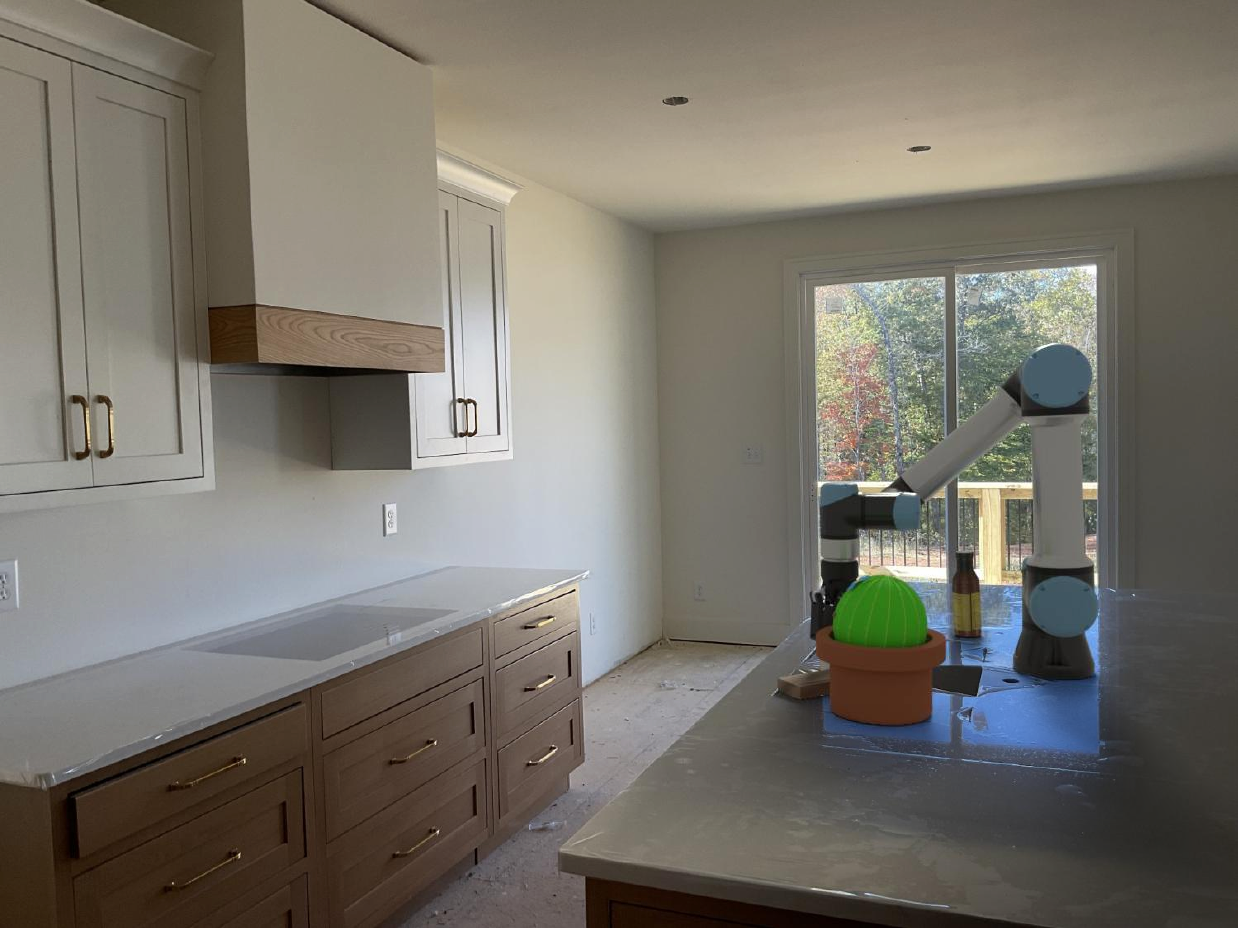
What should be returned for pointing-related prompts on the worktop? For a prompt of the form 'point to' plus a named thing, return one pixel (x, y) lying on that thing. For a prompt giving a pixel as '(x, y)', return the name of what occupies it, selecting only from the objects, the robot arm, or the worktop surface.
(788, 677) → the board
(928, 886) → the worktop surface
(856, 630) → the potted cactus
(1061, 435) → the robot arm
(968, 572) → the sauce bottle
